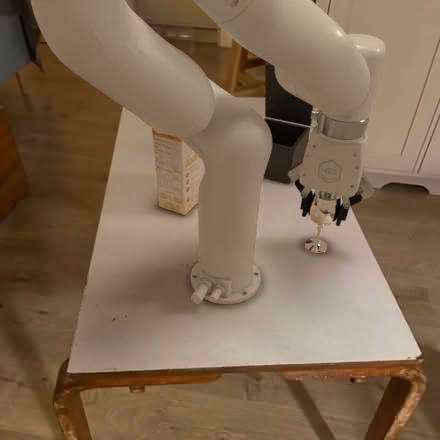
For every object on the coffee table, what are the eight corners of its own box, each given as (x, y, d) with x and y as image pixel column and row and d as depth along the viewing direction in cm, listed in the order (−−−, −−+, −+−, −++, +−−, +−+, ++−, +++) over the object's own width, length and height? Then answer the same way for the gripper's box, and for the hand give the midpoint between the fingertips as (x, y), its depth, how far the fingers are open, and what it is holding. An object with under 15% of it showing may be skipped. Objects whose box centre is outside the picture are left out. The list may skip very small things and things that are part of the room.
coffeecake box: (192, 176, 106) (190, 92, 93) (218, 184, 104) (220, 99, 90) (157, 206, 97) (149, 118, 83) (185, 216, 94) (181, 127, 81)
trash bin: (289, 184, 105) (294, 149, 98) (243, 172, 108) (245, 138, 102) (305, 160, 113) (310, 127, 107) (262, 150, 116) (265, 117, 110)
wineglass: (330, 257, 86) (343, 204, 77) (300, 252, 86) (310, 200, 78) (331, 239, 90) (343, 187, 81) (302, 235, 91) (312, 183, 82)
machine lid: (316, 73, 95) (323, 59, 98) (265, 64, 98) (273, 51, 101) (310, 126, 106) (317, 113, 109) (265, 116, 110) (272, 104, 112)
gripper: (283, 122, 71) (272, 216, 83) (394, 145, 66) (363, 241, 78) (298, 105, 76) (285, 196, 88) (401, 125, 71) (372, 219, 83)
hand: (322, 216), depth 83 cm, fingers closed on wineglass, 5 cm apart
